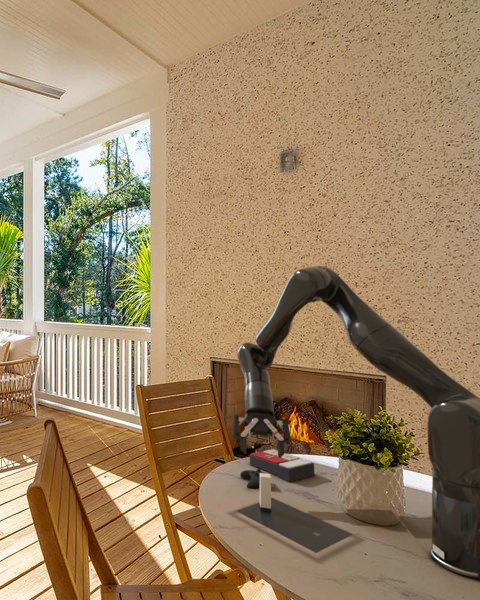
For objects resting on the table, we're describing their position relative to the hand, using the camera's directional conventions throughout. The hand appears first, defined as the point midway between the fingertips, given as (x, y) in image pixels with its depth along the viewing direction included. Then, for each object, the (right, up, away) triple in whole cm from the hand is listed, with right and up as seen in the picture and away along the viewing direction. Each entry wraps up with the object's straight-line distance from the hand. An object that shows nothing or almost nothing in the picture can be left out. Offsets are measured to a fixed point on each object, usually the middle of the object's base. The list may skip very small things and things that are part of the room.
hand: (262, 454), depth 113 cm
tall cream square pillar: (-2, -11, -6) cm, 13 cm away
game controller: (+2, -12, +10) cm, 16 cm away
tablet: (+1, -12, -12) cm, 17 cm away
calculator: (+15, -12, +21) cm, 28 cm away
